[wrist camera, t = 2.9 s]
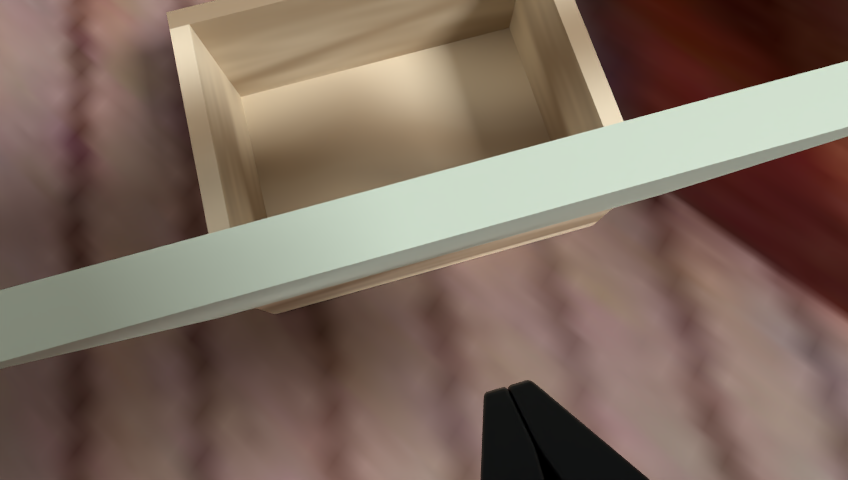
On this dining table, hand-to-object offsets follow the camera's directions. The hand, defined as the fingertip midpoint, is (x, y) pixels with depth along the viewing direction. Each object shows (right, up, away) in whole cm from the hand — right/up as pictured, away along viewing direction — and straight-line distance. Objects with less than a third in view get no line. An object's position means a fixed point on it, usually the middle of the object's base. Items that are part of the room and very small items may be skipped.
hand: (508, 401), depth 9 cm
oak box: (-2, +6, +11) cm, 13 cm away
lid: (-1, +4, 0) cm, 4 cm away
